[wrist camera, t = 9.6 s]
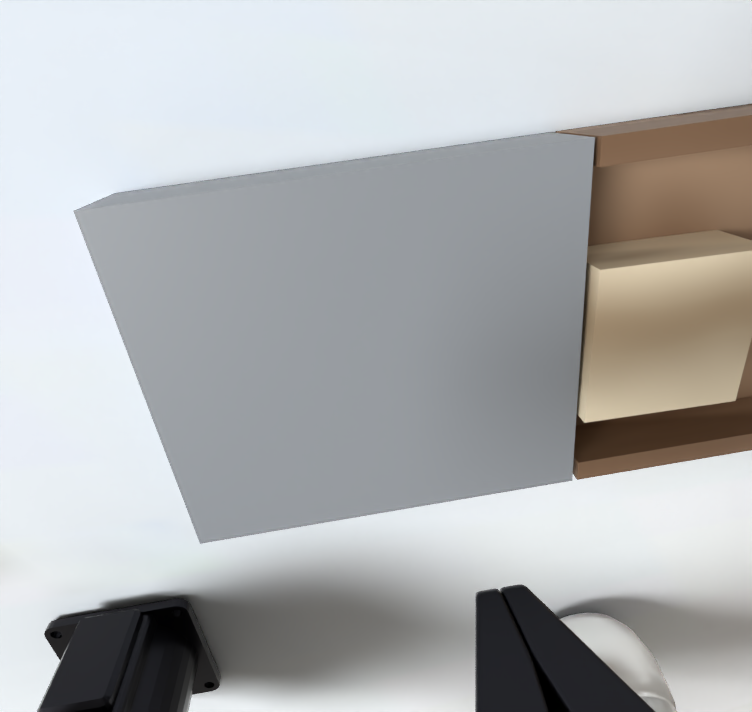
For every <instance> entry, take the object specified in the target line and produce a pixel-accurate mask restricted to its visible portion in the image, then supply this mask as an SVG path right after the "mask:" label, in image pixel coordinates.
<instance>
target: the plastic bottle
mask: <svg viewBox="0 0 752 712" xmlns="http://www.w3.org/2000/svg"><path fill="white" fill-rule="evenodd" d="M560 620H561V621H562V622H563V623H564V624H565V625H566V626H567V627H569V628H570V629H571V630H572V631H573V632H574V633H575V634H576V635H577V636H578V637H579V638H580V639H581V640H582V641H583V642H584V643H585V644H586V645H587V646H588V647H589V648H590V649H591V650H592V651H593V652H594V653H595V654H596V655H597V656H599V657H600V658H601V659H602V660H603V661H604V662H605V663H606V664H607V665H608V666H609V667H610V668H611V669H612V670H613V671H614V672H615V673H616V674H617V675H618V676H619V677H620V678H621V679H622V680H623V681H624V682H625V683H626V684H627V685H629V686H630V687H631V688H632V689H633V690H634V691H635V692H636V693H637V694H638V695H639V696H640V697H641V698H642V699H643V700H644V701H645V702H646V703H647V704H648V705H649V706H650V707H651V708H652V709H653V710H654V711H655V712H677V710H676V707H675V702H674V700H673V697H672V695H671V692H670V689H669V687H668V684H667V682H666V680H665V678H664V676H663V674H662V672H661V670H660V668H659V666H658V664H657V661H656V659H655V657H654V656H653V654H652V653H651V651H650V650H649V649H648V648H647V647H646V646H645V644H644V643H643V642H642V641H641V640H640V639H639V637H638V636H637V635H636V634H635V633H634V631H633V630H632V629H631V628H629V627H628V626H627V625H625V624H623V623H621V622H620V621H618V620H616V619H614V618H612V617H610V616H607V615H605V614H600V613H578V614H574V615H569V616H566V617H563V618H561V619H560Z"/></svg>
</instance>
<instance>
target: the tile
mask: <svg viewBox="0 0 752 712" xmlns="http://www.w3.org/2000/svg"><path fill="white" fill-rule="evenodd" d="M751 338H752V240H749V239H745V238H742V237H739V236H736V235H732V234H729V233H726V232H723V231H719V230H712V231H704V232H696V233H688V234H680V235H672V236H664V237H656V238H648V239H640V240H632V241H624V242H617V243H609V244H601V245H593V246H588V249H587V264H586V279H585V294H584V309H583V324H582V339H581V354H580V369H579V384H578V399H577V415H578V416H579V417H580V418H581V419H582V421H583V422H584V423H587V422H594V421H601V420H607V419H614V418H621V417H628V416H635V415H642V414H649V413H656V412H663V411H670V410H677V409H683V408H690V407H697V406H704V405H711V404H718V403H725V402H732V401H736V397H737V393H738V389H739V385H740V381H741V377H742V373H743V370H744V366H745V362H746V358H747V354H748V350H749V346H750V342H751Z"/></svg>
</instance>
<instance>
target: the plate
mask: <svg viewBox="0 0 752 712" xmlns="http://www.w3.org/2000/svg"><path fill="white" fill-rule="evenodd" d="M594 143H595V137H588V136H579V135H570V134H561V133H552V132H548V133H541V134H534V135H527V136H519V137H512V138H505V139H498V140H491V141H484V142H477V143H470V144H463V145H455V146H448V147H441V148H434V149H427V150H420V151H413V152H406V153H399V154H392V155H384V156H377V157H370V158H363V159H356V160H349V161H342V162H335V163H328V164H320V165H313V166H306V167H299V168H292V169H285V170H278V171H271V172H264V173H256V174H249V175H242V176H235V177H228V178H221V179H214V180H207V181H200V182H193V183H185V184H178V185H171V186H164V187H157V188H150V189H143V190H136V191H129V192H121V193H114V194H112V195H110V196H107V197H105V198H103V199H100V200H98V201H96V202H93V203H91V204H89V205H86V206H84V207H82V208H80V209H77V210H75V211H74V213H75V216H76V219H77V221H78V224H79V227H80V229H81V232H82V234H83V237H84V240H85V242H86V245H87V248H88V250H89V253H90V255H91V258H92V261H93V263H94V266H95V269H96V271H97V274H98V276H99V279H100V282H101V284H102V287H103V290H104V292H105V295H106V297H107V300H108V303H109V305H110V308H111V311H112V313H113V316H114V318H115V321H116V324H117V326H118V329H119V332H120V334H121V337H122V339H123V342H124V345H125V347H126V350H127V353H128V355H129V358H130V360H131V363H132V366H133V368H134V371H135V374H136V376H137V379H138V381H139V384H140V387H141V389H142V392H143V395H144V397H145V400H146V402H147V405H148V408H149V410H150V413H151V416H152V418H153V421H154V423H155V426H156V429H157V431H158V434H159V437H160V439H161V442H162V445H163V447H164V450H165V452H166V455H167V458H168V460H169V463H170V466H171V468H172V471H173V473H174V476H175V479H176V481H177V484H178V487H179V489H180V492H181V494H182V497H183V500H184V502H185V505H186V508H187V510H188V513H189V515H190V518H191V521H192V523H193V526H194V529H195V531H196V534H197V536H198V539H199V542H200V544H201V543H207V542H212V541H218V540H224V539H230V538H236V537H242V536H248V535H254V534H260V533H265V532H271V531H277V530H283V529H289V528H295V527H301V526H307V525H313V524H318V523H324V522H330V521H336V520H342V519H348V518H354V517H360V516H366V515H371V514H377V513H383V512H389V511H395V510H401V509H407V508H413V507H419V506H424V505H430V504H436V503H442V502H448V501H454V500H460V499H466V498H472V497H478V496H483V495H489V494H495V493H501V492H507V491H513V490H519V489H525V488H531V487H536V486H542V485H548V484H554V483H560V482H566V481H572V474H573V459H574V444H575V429H576V414H577V399H578V384H579V369H580V354H581V339H582V324H583V309H584V294H585V279H586V264H587V249H588V234H589V219H590V204H591V189H592V174H593V159H594Z"/></svg>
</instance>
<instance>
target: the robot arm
mask: <svg viewBox="0 0 752 712" xmlns="http://www.w3.org/2000/svg"><path fill="white" fill-rule="evenodd" d="M44 635H45V637H46V639H47V640H48V642H49V644H50V645H51V647H52V648H53V650H54V651H55V653H56V654H57V656H58V658H59V659H60V663H59V665H58V667H57V669H56V671H55V673H54V676H53V678H52V680H51V682H50V684H49V686H48V689H47V691H46V693H45V695H44V697H43V699H42V702H41V704H40V706H39V708H38V710H37V712H188V710H189V705H190V700H191V696H192V694H198V693H203V692H209V691H213V690H216V689H217V688H218V687H219V685H220V679H221V676H220V673H219V671H218V669H217V666H216V664H215V661H214V659H213V657H212V654H211V652H210V650H209V647H208V645H207V643H206V640H205V638H204V636H203V633H202V631H201V628H200V626H199V624H198V621H197V619H196V617H195V614H194V612H193V610H192V607H191V605H190V603H189V602H188V601H186V600H184V599H173V600H167V601H161V602H155V603H149V604H144V605H138V606H132V607H126V608H121V609H115V610H109V611H103V612H98V613H92V614H86V615H80V616H75V617H69V618H63V619H57V620H54V621H51V622H50V623H49V625H48V627H47V629H46V631H45V633H44ZM476 712H655V711H654V710H653V709H652V708H651V707H650V706H649V705H648V704H647V703H646V702H645V701H644V700H643V699H642V698H641V697H640V696H639V695H638V694H637V693H636V692H635V691H634V690H633V689H632V688H631V687H630V686H629V685H627V684H626V683H625V682H624V681H623V680H622V679H621V678H620V677H619V676H618V675H617V674H616V673H615V672H614V671H613V670H612V669H611V668H610V667H609V666H608V665H607V664H606V663H605V662H604V661H603V660H602V659H601V658H600V657H599V656H597V655H596V654H595V653H594V652H593V651H592V650H591V649H590V648H589V647H588V646H587V645H586V644H585V643H584V642H583V641H582V640H581V639H580V638H579V637H578V636H577V635H576V634H575V633H574V632H573V631H572V630H571V629H570V628H569V627H567V626H566V625H565V624H564V623H563V622H562V621H561V620H560V619H559V618H558V617H557V616H556V615H555V614H554V613H553V612H552V611H551V610H550V609H549V608H548V607H547V606H546V605H545V604H544V603H543V602H542V601H541V600H540V599H539V598H538V597H536V596H535V595H534V594H533V593H532V592H531V591H530V590H529V589H528V588H527V587H526V586H524V585H513V586H508V587H503V588H501V589H500V591H499V590H498V589H490V590H485V591H479V592H477V593H476Z"/></svg>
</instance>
